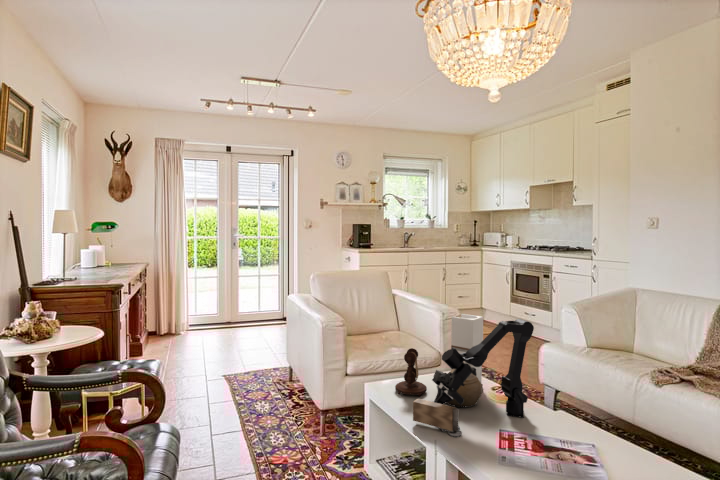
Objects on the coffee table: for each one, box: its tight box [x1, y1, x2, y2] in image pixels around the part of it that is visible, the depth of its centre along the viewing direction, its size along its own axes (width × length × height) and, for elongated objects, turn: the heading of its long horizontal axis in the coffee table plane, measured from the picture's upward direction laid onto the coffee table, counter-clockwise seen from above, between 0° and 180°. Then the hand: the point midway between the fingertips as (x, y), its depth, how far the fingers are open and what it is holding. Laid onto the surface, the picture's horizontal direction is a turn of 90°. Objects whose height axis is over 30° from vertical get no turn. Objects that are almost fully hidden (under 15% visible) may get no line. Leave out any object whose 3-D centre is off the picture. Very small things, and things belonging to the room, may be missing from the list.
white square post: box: [450, 313, 484, 389], centre depth 211 cm, size 11×11×35 cm
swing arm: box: [412, 398, 459, 431], centre depth 167 cm, size 18×4×8 cm, turn 57°
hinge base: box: [447, 429, 463, 438], centre depth 163 cm, size 5×5×1 cm
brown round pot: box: [447, 369, 483, 408], centre depth 194 cm, size 20×17×17 cm
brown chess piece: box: [394, 348, 428, 398], centre depth 206 cm, size 15×15×20 cm
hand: (433, 406), depth 173 cm, fingers closed
